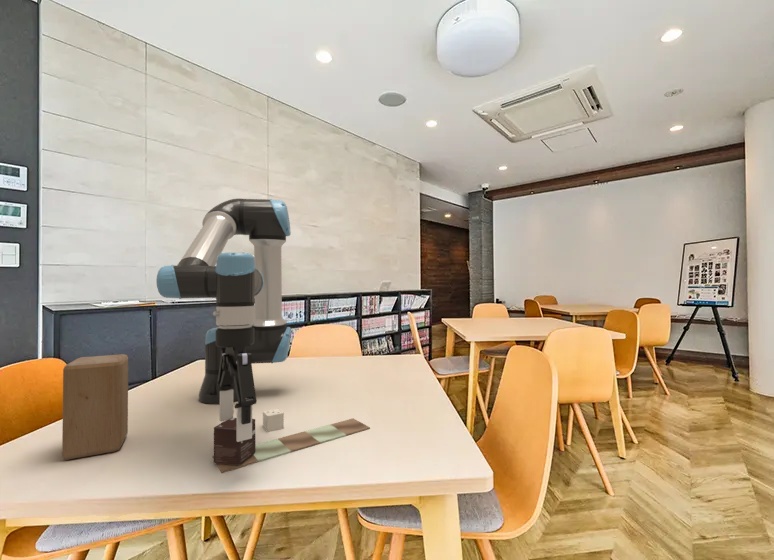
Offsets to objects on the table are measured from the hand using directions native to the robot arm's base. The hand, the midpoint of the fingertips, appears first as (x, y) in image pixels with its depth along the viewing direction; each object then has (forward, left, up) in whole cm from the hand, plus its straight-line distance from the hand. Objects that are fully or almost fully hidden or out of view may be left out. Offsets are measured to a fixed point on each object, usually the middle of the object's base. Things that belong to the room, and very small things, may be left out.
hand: (234, 429), depth 74 cm
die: (-12, +13, -7) cm, 19 cm away
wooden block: (-25, -23, -7) cm, 35 cm away
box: (0, 0, -6) cm, 6 cm away
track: (0, +14, -7) cm, 16 cm away
